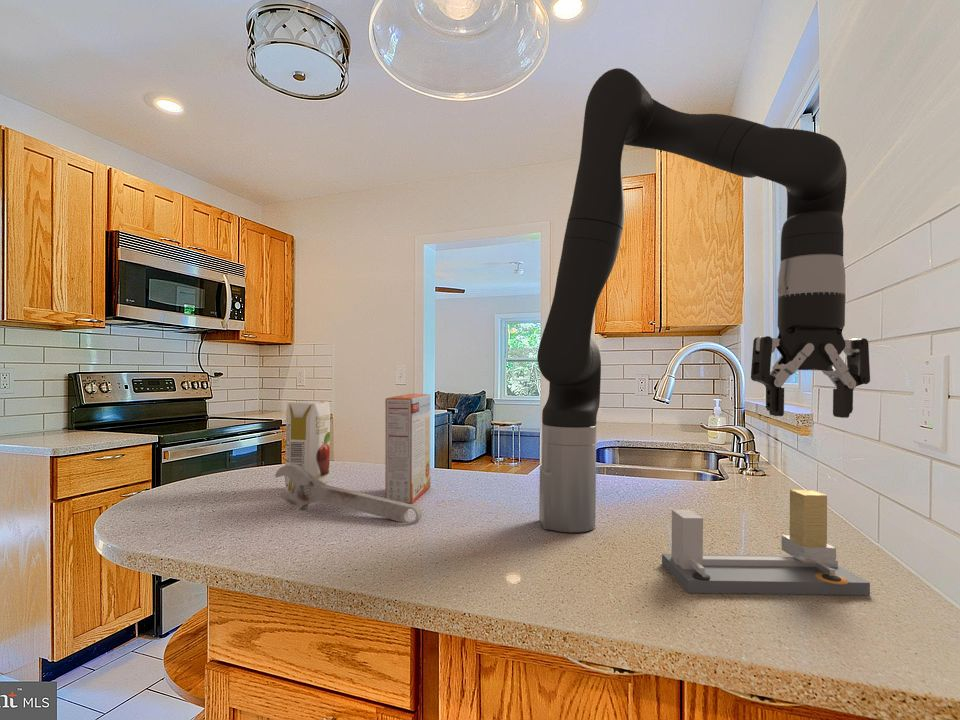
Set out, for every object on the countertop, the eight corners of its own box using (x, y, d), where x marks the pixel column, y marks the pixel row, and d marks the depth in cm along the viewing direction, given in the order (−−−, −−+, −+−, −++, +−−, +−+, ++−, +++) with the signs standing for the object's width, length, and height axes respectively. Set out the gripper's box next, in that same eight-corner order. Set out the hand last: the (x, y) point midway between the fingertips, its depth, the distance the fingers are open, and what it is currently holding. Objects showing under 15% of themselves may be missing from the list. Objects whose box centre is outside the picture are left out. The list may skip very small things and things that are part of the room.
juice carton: (280, 494, 108) (281, 402, 108) (300, 485, 116) (302, 400, 116) (314, 496, 106) (315, 403, 107) (332, 487, 115) (334, 401, 115)
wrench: (414, 541, 89) (271, 504, 98) (419, 538, 91) (277, 502, 100) (420, 495, 89) (276, 462, 98) (424, 492, 90) (282, 460, 100)
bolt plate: (690, 595, 62) (691, 528, 62) (661, 564, 72) (662, 506, 72) (874, 597, 62) (874, 530, 62) (821, 566, 72) (821, 508, 72)
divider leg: (815, 575, 64) (816, 501, 64) (781, 554, 71) (781, 487, 71) (848, 575, 64) (848, 502, 64) (810, 554, 71) (811, 488, 71)
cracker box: (404, 487, 116) (406, 393, 116) (431, 488, 115) (432, 393, 115) (382, 503, 102) (384, 396, 102) (412, 505, 101) (413, 397, 101)
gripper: (772, 288, 65) (770, 418, 65) (886, 290, 65) (885, 420, 65) (742, 296, 73) (740, 412, 72) (844, 298, 73) (843, 415, 72)
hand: (808, 416), depth 69 cm, fingers open, 8 cm apart
